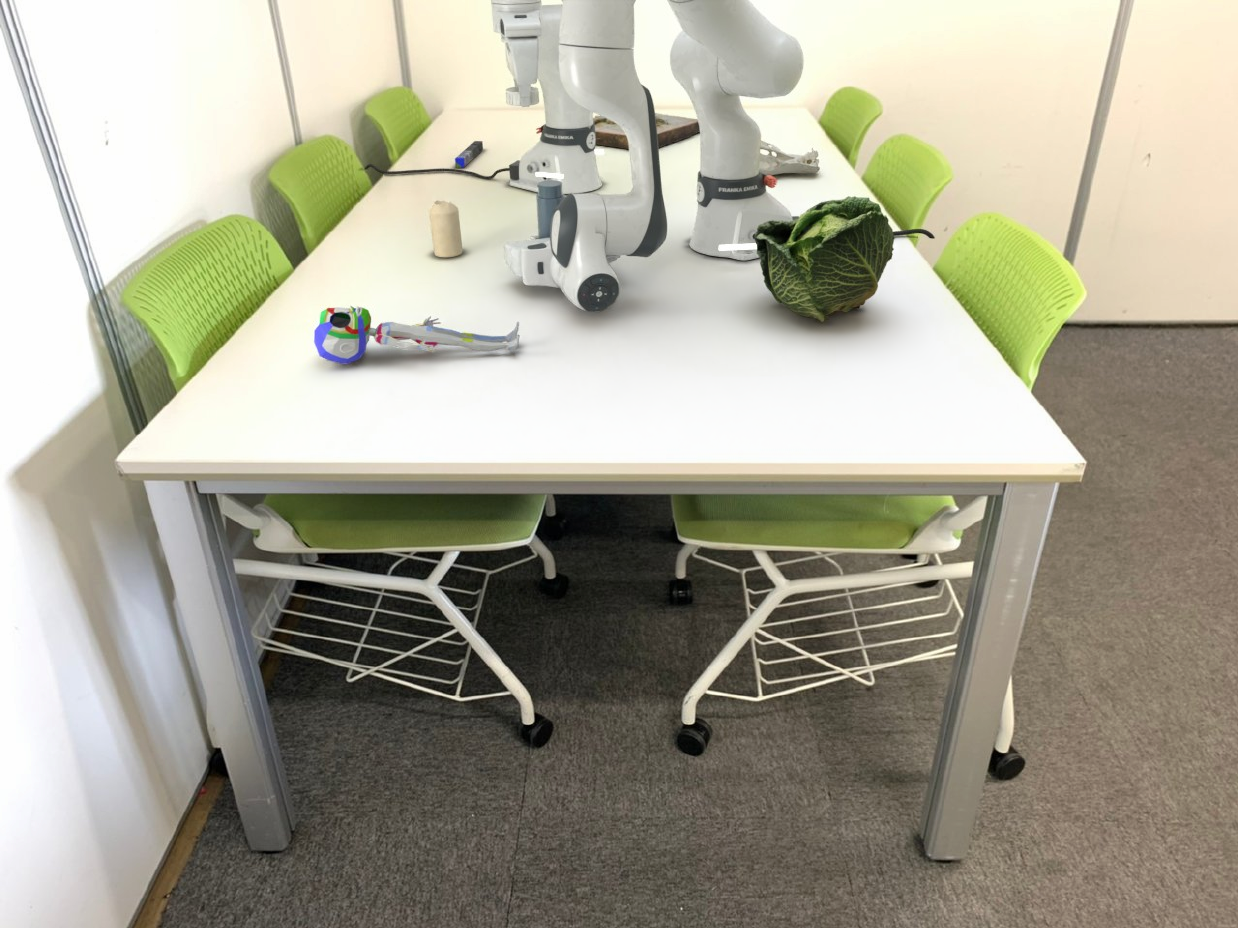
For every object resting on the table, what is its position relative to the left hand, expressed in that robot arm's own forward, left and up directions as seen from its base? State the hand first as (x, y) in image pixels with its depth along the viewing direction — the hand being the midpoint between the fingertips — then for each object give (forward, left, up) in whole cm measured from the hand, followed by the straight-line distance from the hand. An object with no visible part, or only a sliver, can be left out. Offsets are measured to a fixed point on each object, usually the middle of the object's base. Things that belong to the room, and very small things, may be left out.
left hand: (523, 102), depth 167 cm
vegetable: (+63, -7, -26) cm, 68 cm away
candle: (-10, -14, -26) cm, 31 cm away
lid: (0, 0, +2) cm, 2 cm away
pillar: (-54, +48, -26) cm, 77 cm away
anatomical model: (+22, +70, -26) cm, 78 cm away
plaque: (-28, +91, -26) cm, 99 cm away
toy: (+16, -52, -26) cm, 60 cm away
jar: (+13, -11, -26) cm, 31 cm away
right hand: (+12, -10, -21) cm, 26 cm away
